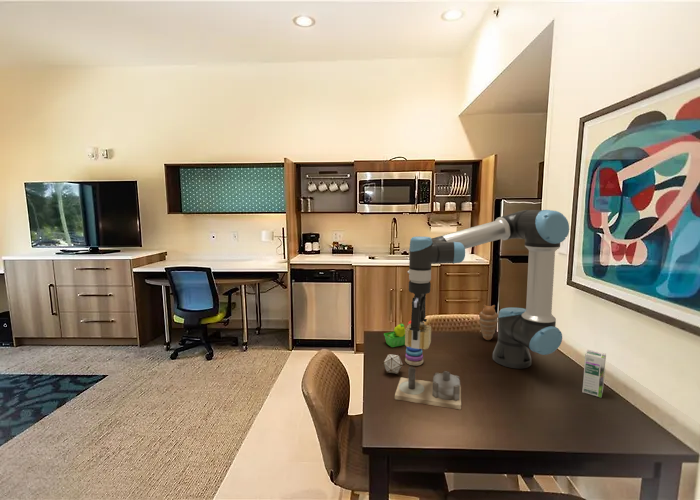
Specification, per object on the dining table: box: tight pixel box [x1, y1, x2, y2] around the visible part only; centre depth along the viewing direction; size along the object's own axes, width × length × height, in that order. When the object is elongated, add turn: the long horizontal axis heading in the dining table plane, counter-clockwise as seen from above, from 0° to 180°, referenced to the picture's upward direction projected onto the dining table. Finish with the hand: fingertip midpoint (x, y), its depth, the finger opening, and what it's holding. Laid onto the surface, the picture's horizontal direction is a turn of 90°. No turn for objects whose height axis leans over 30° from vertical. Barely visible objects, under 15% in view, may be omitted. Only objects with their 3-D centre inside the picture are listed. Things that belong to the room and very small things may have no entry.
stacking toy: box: [404, 320, 425, 367], centre depth 146 cm, size 8×8×19 cm
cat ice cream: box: [478, 303, 499, 341], centre depth 170 cm, size 9×8×18 cm
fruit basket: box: [383, 323, 406, 348], centre depth 166 cm, size 11×9×11 cm
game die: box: [381, 351, 405, 377], centre depth 138 cm, size 9×8×10 cm
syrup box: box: [581, 349, 607, 398], centre depth 122 cm, size 6×6×14 cm
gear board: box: [394, 366, 462, 410], centre depth 122 cm, size 22×13×9 cm, turn 72°
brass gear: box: [404, 324, 432, 350], centre depth 122 cm, size 8×8×6 cm
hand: (417, 343), depth 122 cm, fingers closed on brass gear, 8 cm apart
